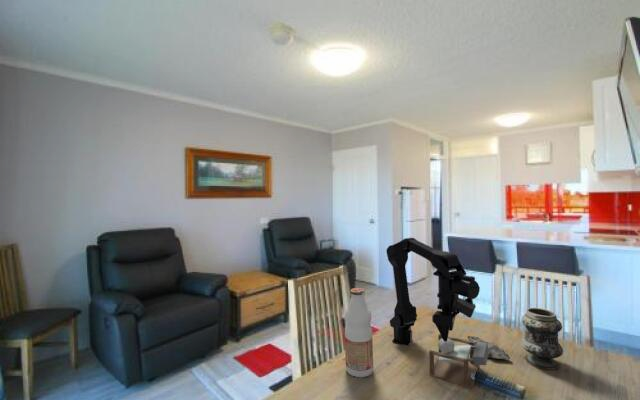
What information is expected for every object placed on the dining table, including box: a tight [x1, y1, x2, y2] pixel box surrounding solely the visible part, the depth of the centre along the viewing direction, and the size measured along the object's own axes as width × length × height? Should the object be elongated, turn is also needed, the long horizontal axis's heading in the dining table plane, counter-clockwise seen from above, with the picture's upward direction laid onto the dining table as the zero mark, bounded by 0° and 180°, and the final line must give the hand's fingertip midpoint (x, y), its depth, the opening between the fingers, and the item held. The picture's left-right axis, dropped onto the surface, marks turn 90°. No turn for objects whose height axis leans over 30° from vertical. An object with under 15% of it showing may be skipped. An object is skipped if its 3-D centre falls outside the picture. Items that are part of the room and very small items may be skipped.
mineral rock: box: [467, 335, 511, 361], centre depth 117 cm, size 15×8×4 cm, turn 15°
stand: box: [428, 333, 480, 389], centre depth 106 cm, size 13×15×8 cm
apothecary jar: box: [520, 307, 564, 371], centre depth 110 cm, size 12×12×18 cm
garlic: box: [437, 339, 456, 354], centre depth 108 cm, size 6×5×5 cm
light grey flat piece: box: [437, 341, 489, 366], centre depth 105 cm, size 14×11×2 cm
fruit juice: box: [344, 287, 374, 378], centre depth 108 cm, size 9×9×28 cm
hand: (448, 335), depth 107 cm, fingers open, 9 cm apart
